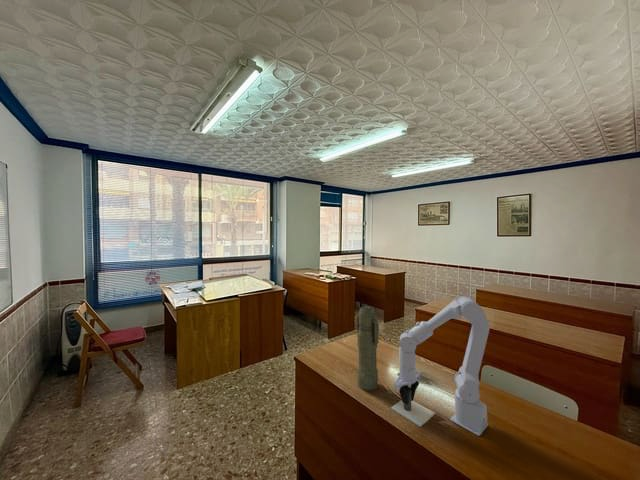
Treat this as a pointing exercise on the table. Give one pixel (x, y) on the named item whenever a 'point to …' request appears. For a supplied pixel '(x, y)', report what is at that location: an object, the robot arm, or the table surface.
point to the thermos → (367, 348)
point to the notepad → (414, 412)
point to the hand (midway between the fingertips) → (407, 401)
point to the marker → (408, 406)
